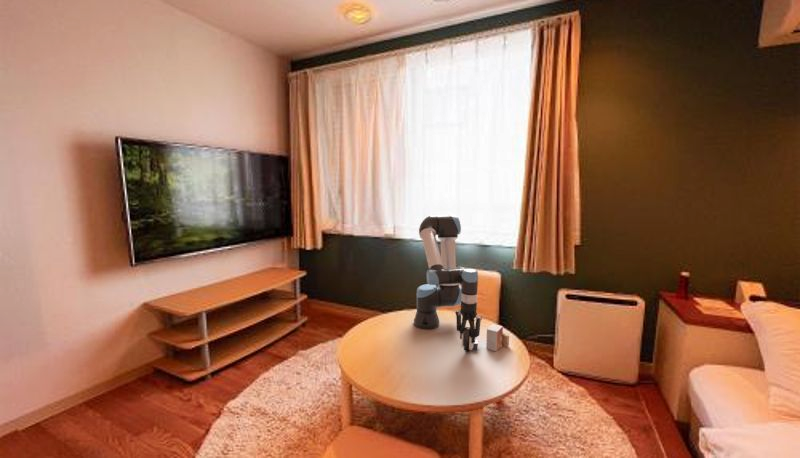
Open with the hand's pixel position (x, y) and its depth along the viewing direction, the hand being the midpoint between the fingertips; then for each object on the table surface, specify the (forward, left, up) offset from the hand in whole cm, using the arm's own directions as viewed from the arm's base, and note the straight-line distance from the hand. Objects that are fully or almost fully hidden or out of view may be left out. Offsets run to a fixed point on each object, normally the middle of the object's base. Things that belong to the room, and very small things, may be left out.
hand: (467, 347), depth 161 cm
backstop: (+3, +22, -4) cm, 22 cm away
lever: (-4, +6, -3) cm, 8 cm away
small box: (+3, +16, -4) cm, 17 cm away
